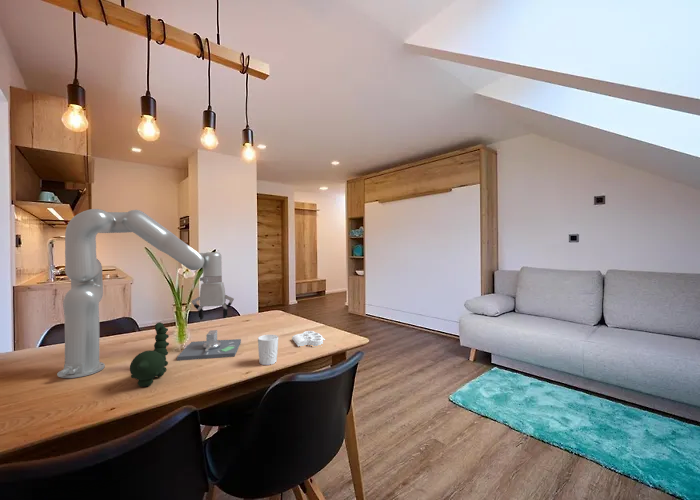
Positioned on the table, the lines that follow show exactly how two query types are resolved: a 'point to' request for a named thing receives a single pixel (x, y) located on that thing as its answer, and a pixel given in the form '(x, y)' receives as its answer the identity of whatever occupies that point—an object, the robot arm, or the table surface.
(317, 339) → the white brass knuckles
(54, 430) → the table surface
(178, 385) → the table surface
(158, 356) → the toy figurine
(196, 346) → the dial plate
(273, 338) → the white cup
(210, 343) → the gray cube on spoon
